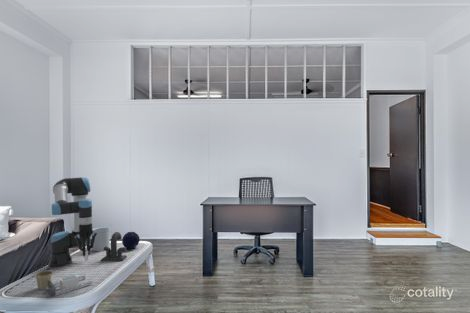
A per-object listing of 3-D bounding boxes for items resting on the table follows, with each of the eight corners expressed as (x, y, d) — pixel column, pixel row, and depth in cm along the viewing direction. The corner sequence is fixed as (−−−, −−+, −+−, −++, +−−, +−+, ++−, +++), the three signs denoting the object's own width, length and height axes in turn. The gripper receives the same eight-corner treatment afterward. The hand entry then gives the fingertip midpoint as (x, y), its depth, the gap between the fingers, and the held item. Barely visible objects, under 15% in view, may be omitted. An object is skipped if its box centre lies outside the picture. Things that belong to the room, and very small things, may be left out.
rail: (47, 289, 177) (47, 280, 177) (85, 278, 191) (84, 271, 191) (53, 296, 167) (53, 287, 167) (91, 284, 182) (91, 276, 182)
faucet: (131, 254, 240) (130, 229, 240) (123, 260, 224) (122, 234, 224) (109, 254, 240) (109, 230, 240) (100, 261, 224) (99, 235, 224)
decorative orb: (135, 245, 246) (138, 228, 255) (117, 245, 246) (121, 229, 255) (140, 251, 257) (142, 235, 266) (123, 251, 257) (126, 235, 266)
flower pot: (50, 282, 186) (49, 269, 186) (55, 286, 180) (55, 272, 180) (32, 288, 179) (32, 274, 179) (38, 292, 173) (37, 277, 173)
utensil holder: (101, 245, 265) (101, 226, 265) (114, 247, 260) (113, 227, 260) (87, 250, 252) (87, 230, 252) (100, 252, 246) (100, 231, 246)
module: (59, 288, 177) (59, 278, 177) (75, 283, 184) (75, 273, 184) (62, 291, 173) (62, 280, 173) (78, 286, 180) (78, 276, 180)
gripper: (76, 226, 179) (76, 264, 179) (98, 222, 188) (99, 259, 188) (72, 224, 184) (73, 261, 184) (94, 221, 193) (95, 256, 193)
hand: (86, 260), depth 186 cm, fingers closed
